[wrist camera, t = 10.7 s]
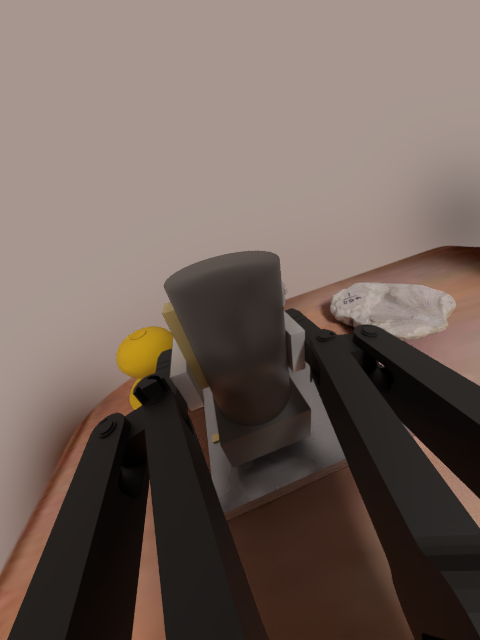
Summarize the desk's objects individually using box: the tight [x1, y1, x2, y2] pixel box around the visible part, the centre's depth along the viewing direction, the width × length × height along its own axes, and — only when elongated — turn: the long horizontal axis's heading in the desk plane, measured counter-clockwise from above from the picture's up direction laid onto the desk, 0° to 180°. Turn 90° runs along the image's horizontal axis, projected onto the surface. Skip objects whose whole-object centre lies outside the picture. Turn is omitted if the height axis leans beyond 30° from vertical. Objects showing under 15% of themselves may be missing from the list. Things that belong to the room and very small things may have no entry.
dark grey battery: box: [162, 251, 311, 468], centre depth 11 cm, size 5×5×11 cm
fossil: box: [330, 282, 456, 341], centre depth 21 cm, size 9×6×10 cm
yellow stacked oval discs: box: [117, 327, 173, 410], centre depth 19 cm, size 8×8×8 cm
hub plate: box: [203, 361, 415, 521], centre depth 15 cm, size 14×9×4 cm, turn 105°
